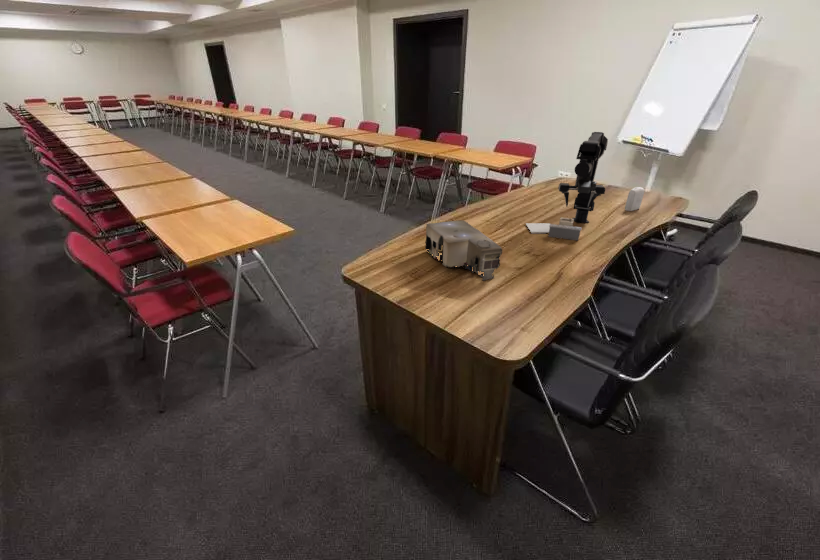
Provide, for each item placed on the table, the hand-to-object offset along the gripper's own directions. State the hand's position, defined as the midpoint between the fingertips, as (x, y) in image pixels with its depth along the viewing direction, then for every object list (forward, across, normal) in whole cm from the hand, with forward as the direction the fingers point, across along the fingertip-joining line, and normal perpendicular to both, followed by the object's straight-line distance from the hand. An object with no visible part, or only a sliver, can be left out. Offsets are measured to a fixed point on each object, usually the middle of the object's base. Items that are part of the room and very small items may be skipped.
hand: (577, 207), depth 173 cm
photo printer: (+12, +37, +48) cm, 62 cm away
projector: (+15, -46, -41) cm, 64 cm away
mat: (+13, -14, +5) cm, 20 cm away
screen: (+13, -4, -5) cm, 15 cm away
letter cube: (+13, -3, +3) cm, 14 cm away
